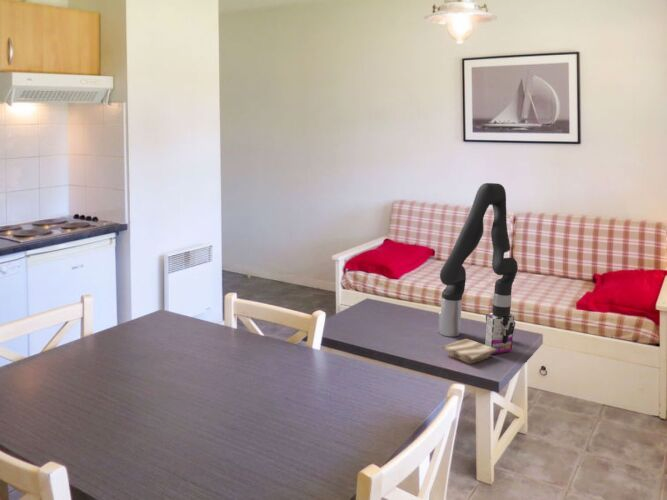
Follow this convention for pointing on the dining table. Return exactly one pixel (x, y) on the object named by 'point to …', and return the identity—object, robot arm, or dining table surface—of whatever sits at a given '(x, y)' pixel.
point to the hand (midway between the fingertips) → (498, 340)
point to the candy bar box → (497, 334)
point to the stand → (469, 350)
